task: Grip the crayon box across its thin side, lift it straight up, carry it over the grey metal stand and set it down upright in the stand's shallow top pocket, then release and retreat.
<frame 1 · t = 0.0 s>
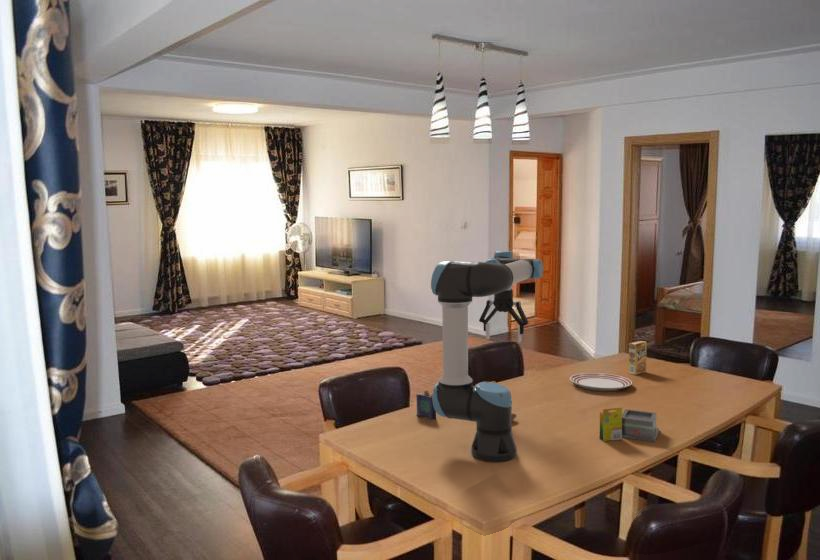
hand: (503, 340, 264), 28 cm above the table, fingers open, 13 cm apart
stone cup: (492, 420, 251), on the table
crayon box: (610, 439, 229), on the table
stand: (638, 433, 234), on the table
dinner plate: (600, 386, 296), on the table
flask: (426, 417, 256), on the table
candy box: (637, 373, 317), on the table
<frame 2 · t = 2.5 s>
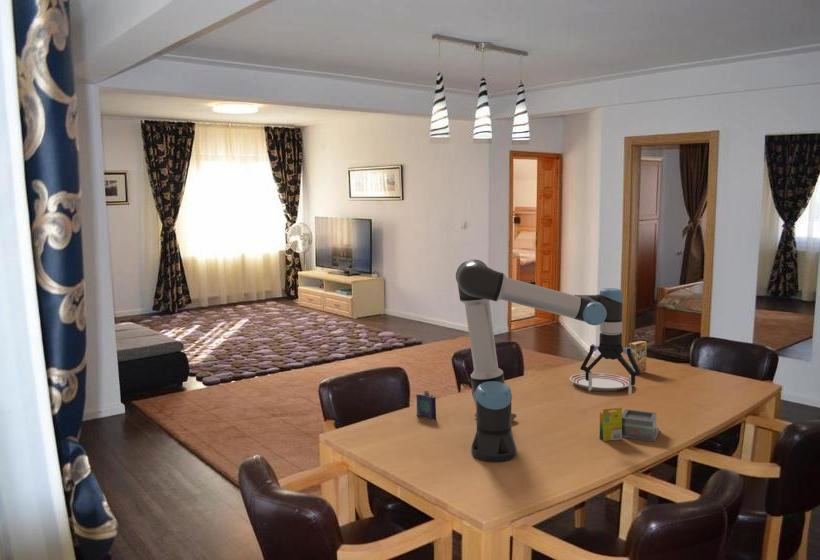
hand: (609, 391, 228), 17 cm above the table, fingers open, 13 cm apart
nothing on the table moved.
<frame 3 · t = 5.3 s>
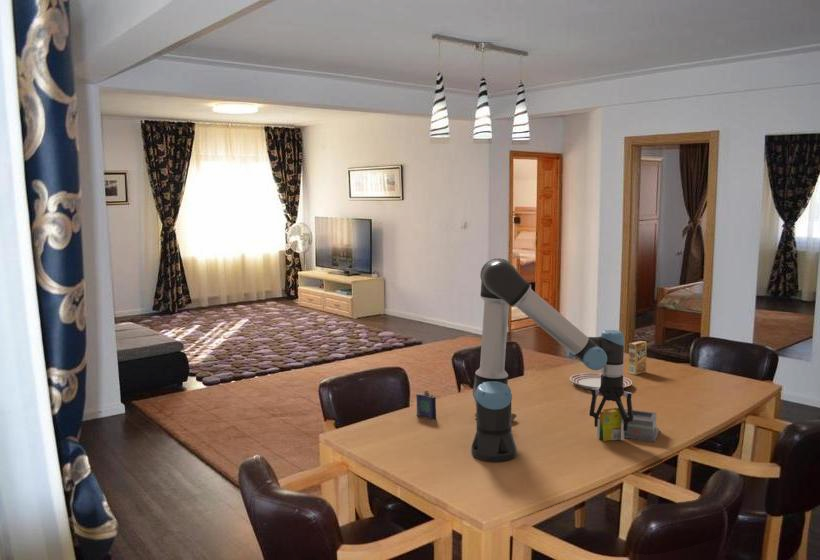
hand: (610, 437, 229), 1 cm above the table, fingers closed on crayon box, 7 cm apart
crayon box: (610, 439, 229), on the table, touching gripper
everything else where it was.
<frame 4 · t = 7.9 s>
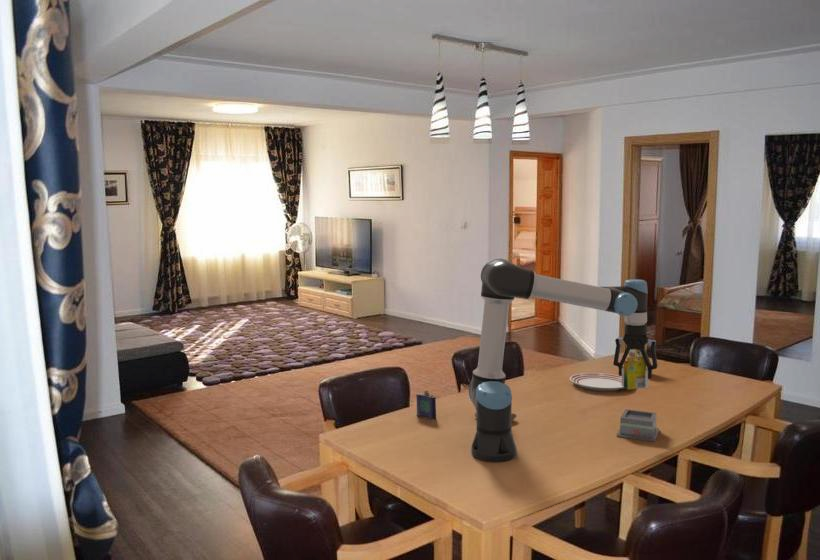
hand: (635, 386, 231), 18 cm above the table, fingers closed on crayon box, 7 cm apart
crayon box: (634, 388, 231), point 17 cm above the table, touching gripper
everything else where it was.
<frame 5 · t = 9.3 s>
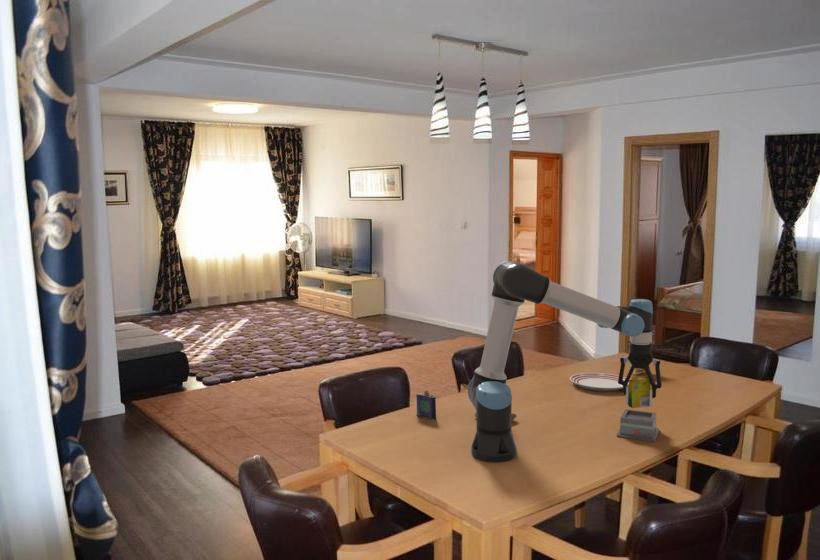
hand: (639, 404, 233), 11 cm above the table, fingers closed on crayon box, 7 cm apart
crayon box: (639, 406, 233), point 10 cm above the table, touching gripper
everything else where it was.
when the fingers open (8 cm above the table, at t = 10.6 s): crayon box drops 1 cm, resting on stand.
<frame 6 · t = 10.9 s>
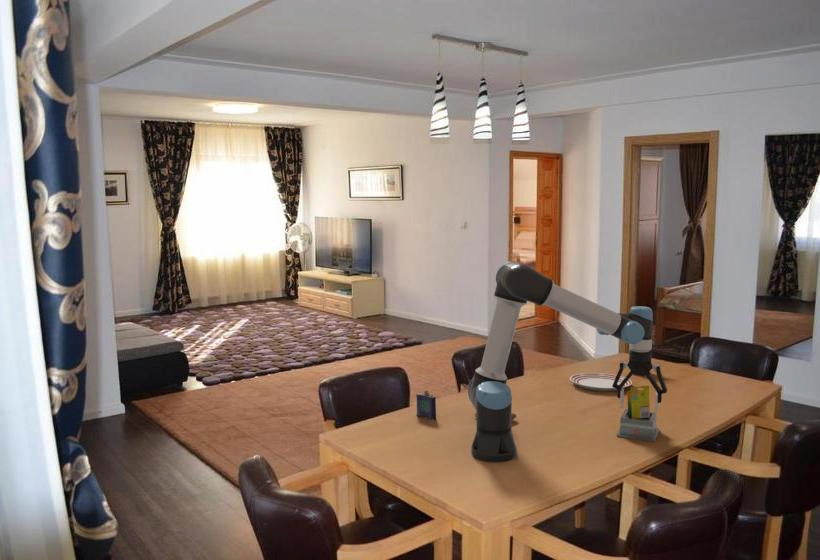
hand: (638, 409, 233), 9 cm above the table, fingers open, 11 cm apart
crayon box: (638, 418, 234), point 6 cm above the table, touching stand
everything else where it was.
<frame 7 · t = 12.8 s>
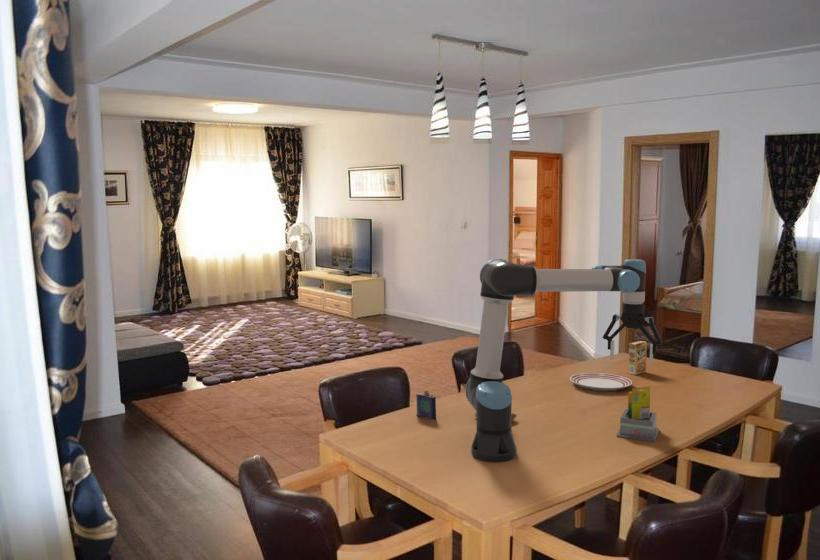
hand: (631, 360, 234), 26 cm above the table, fingers open, 13 cm apart
nothing on the table moved.
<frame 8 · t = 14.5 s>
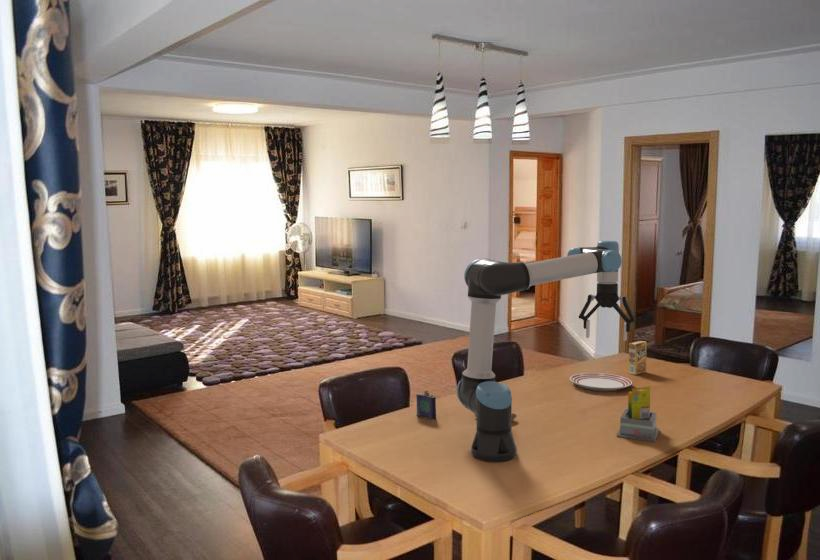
hand: (606, 338, 242), 33 cm above the table, fingers open, 13 cm apart
nothing on the table moved.
at the end: crayon box inside the target area on the stand (0.1 cm from its centre), point 5.6 cm above the stand's base; crayon box tilted 0°; the gripper is holding nothing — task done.
